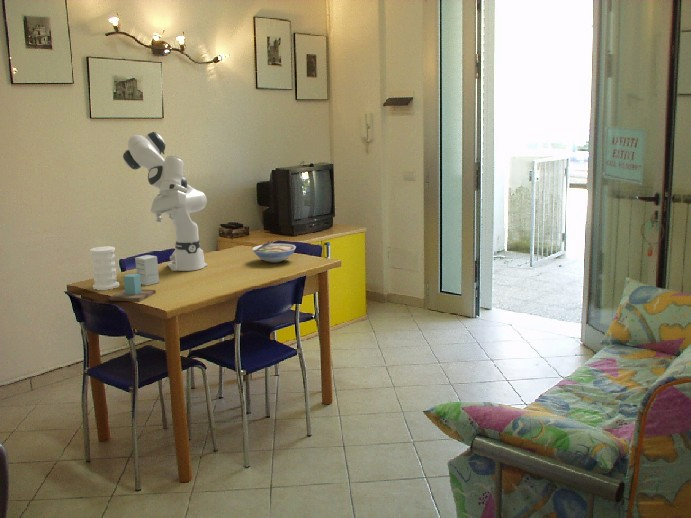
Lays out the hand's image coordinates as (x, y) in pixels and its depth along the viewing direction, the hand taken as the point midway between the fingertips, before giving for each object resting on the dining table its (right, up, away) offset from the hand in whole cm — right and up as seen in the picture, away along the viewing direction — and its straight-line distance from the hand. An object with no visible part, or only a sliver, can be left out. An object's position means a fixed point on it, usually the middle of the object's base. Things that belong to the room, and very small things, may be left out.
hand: (165, 220), depth 303 cm
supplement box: (-14, -29, +22) cm, 39 cm away
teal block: (-13, -32, -1) cm, 35 cm away
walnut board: (-14, -33, -1) cm, 36 cm away
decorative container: (-31, -30, +17) cm, 47 cm away
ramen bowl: (+41, -18, +63) cm, 77 cm away
